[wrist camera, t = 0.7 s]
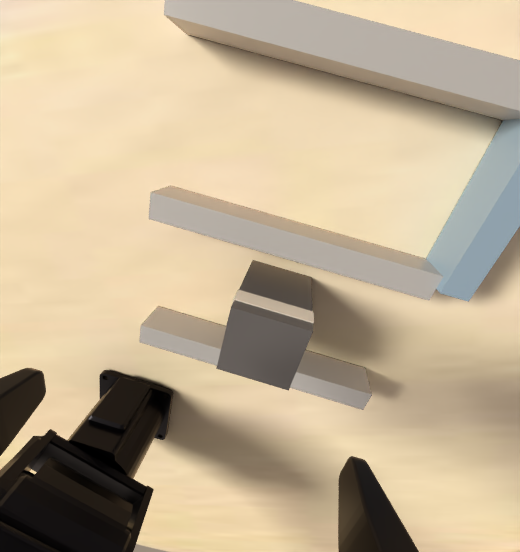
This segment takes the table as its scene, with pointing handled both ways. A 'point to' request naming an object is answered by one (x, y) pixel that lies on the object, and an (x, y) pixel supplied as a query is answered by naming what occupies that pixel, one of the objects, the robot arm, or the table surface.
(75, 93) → the table surface
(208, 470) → the table surface
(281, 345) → the grey capped block
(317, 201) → the table surface
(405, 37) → the grey rectangular bars
